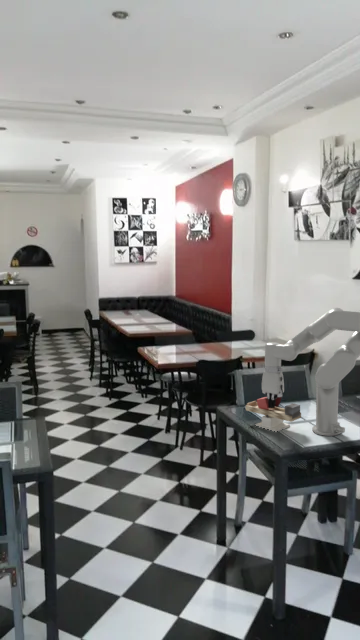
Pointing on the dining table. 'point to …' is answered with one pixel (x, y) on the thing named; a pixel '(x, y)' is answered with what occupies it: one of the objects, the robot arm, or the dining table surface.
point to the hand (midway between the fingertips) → (271, 407)
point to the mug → (278, 401)
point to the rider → (263, 403)
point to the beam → (277, 411)
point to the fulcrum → (272, 423)
